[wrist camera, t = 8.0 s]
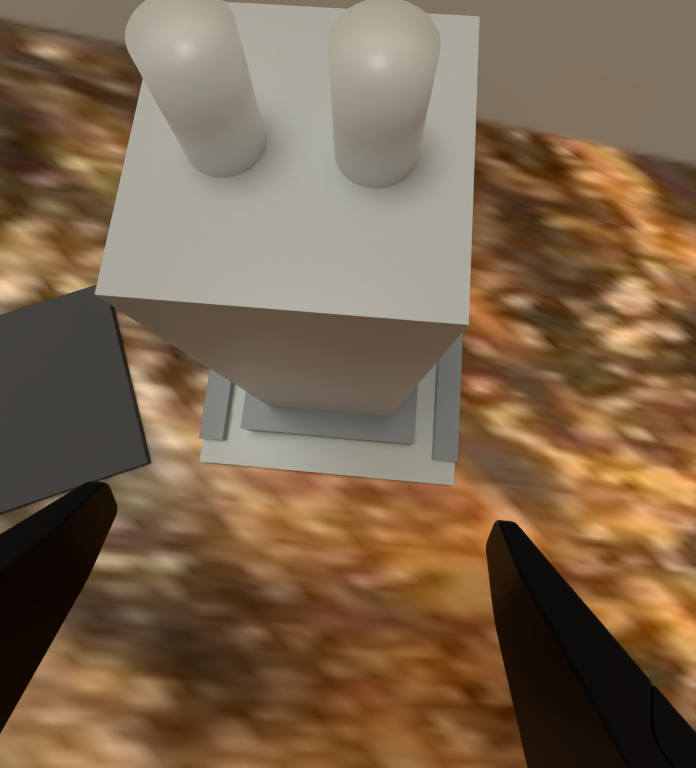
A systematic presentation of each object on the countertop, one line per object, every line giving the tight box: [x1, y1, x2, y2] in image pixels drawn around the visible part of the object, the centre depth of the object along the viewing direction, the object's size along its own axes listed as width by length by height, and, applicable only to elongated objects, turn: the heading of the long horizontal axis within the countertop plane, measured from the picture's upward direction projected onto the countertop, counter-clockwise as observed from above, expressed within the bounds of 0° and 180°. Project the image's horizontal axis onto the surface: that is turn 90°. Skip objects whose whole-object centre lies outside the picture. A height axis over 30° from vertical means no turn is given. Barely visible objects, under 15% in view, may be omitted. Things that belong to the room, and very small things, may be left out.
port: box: [199, 332, 463, 486], centre depth 17 cm, size 10×11×3 cm
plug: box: [95, 0, 479, 445], centre depth 11 cm, size 7×7×14 cm
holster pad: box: [0, 285, 151, 513], centre depth 18 cm, size 9×9×1 cm
